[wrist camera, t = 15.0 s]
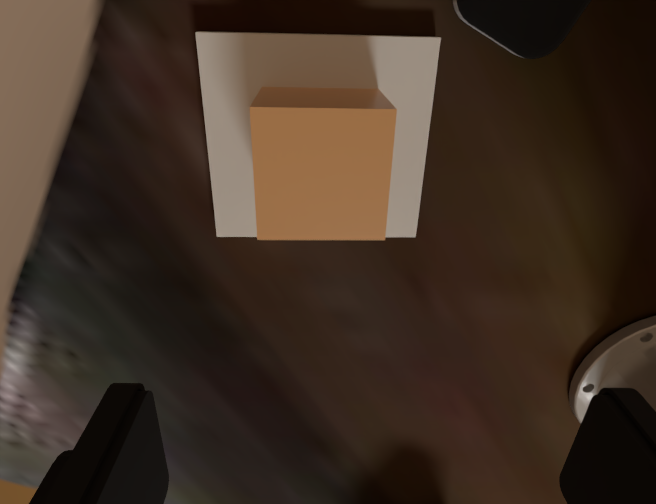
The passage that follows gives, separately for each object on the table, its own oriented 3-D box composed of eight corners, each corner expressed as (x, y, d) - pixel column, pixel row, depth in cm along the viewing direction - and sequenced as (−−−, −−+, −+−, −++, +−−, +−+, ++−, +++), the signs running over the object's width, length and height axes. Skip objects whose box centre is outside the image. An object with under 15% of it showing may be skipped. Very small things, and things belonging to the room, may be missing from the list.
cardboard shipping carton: (378, 88, 23) (397, 109, 18) (370, 197, 26) (385, 240, 21) (261, 86, 23) (249, 107, 18) (266, 196, 26) (257, 239, 21)
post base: (435, 36, 23) (466, 42, 19) (412, 230, 28) (432, 271, 24) (199, 31, 23) (172, 36, 18) (219, 229, 28) (202, 271, 23)
